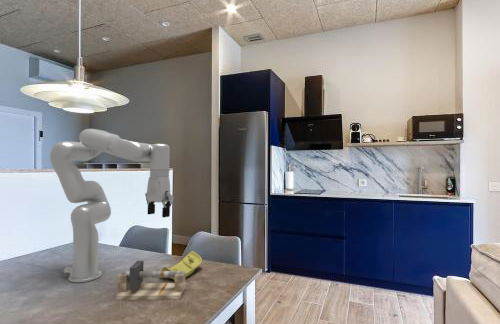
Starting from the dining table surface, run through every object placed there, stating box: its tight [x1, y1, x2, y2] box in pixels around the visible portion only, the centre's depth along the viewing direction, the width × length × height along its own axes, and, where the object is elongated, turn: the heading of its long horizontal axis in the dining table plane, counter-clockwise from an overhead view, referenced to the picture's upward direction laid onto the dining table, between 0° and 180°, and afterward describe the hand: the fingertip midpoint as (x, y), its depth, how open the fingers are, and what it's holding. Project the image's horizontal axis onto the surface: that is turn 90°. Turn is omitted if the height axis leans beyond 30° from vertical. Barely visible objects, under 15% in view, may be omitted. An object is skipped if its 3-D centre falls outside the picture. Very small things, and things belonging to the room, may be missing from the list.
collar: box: [129, 260, 145, 290], centre depth 110 cm, size 2×8×8 cm, turn 2°
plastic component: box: [161, 250, 203, 282], centre depth 131 cm, size 20×7×10 cm
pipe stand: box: [115, 270, 186, 301], centre depth 111 cm, size 24×11×8 cm, turn 92°
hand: (158, 215), depth 119 cm, fingers open, 9 cm apart
